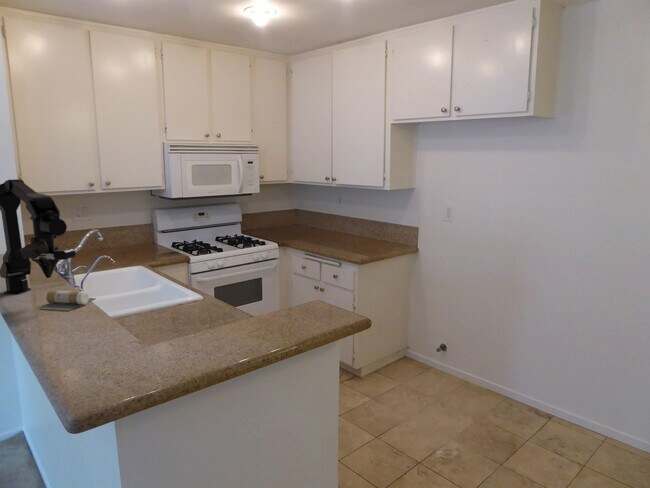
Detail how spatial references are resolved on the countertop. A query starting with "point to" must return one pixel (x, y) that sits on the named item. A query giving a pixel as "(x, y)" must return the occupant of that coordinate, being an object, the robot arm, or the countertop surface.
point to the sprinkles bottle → (67, 297)
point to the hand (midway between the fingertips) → (48, 277)
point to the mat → (63, 306)
